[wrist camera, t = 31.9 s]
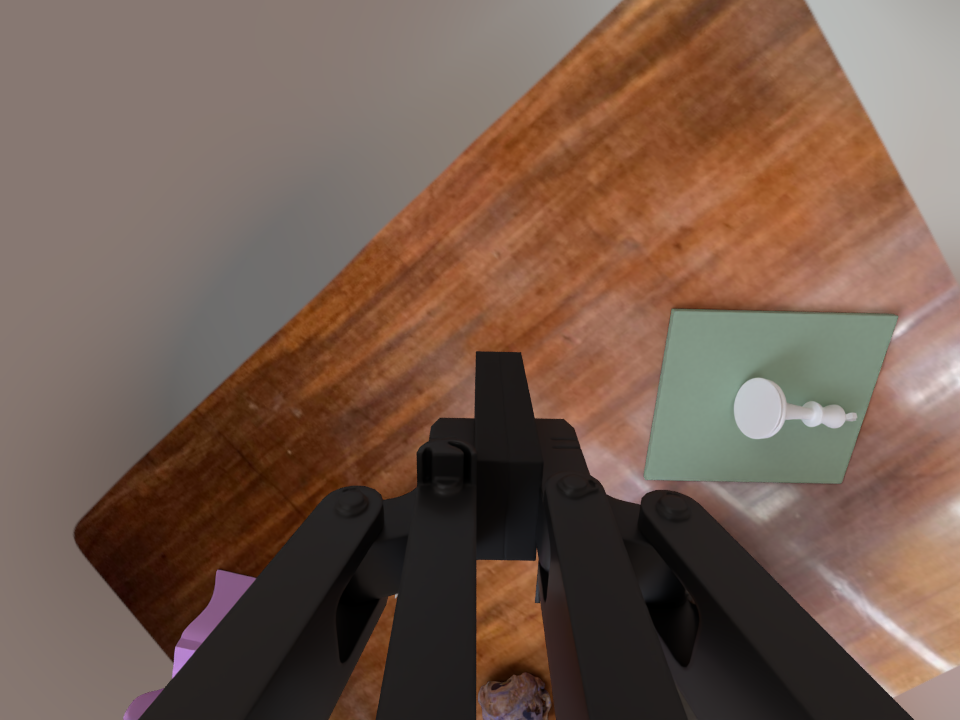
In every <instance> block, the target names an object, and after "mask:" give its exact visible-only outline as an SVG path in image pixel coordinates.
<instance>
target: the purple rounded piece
mask: <svg viewBox="0 0 960 720" xmlns="http://www.w3.org/2000/svg"><path fill="white" fill-rule="evenodd" d="M544 688H545V683H544V682H542V681H541V680H540V678H538V677H534V676H533V675H531V674H530V673H527V672H524V673H522V674H521V675H518V676H516V675H513V676H512V677H511V678H509V679H508V680H507V681H505V682H496V681H492V682H490V681H489V682H488V683H487V684H486V685H483V686H481V689H480V691H479V694H478V702H479V704H480V705H481V706H482V715H483V720H548V712H549V710H550V708H551V700H550V695H549V693H548V692H547V691H546V690H545V689H544ZM541 698H542V699H543V700H544V701H545V702H546V703H545V704H543V703H542V700H541Z"/></svg>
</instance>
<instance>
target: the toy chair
mask: <svg viewBox="0 0 960 720" xmlns="http://www.w3.org/2000/svg"><path fill="white" fill-rule="evenodd" d="M255 580H256V578H254V577H249V576H245V575H240V574H236V573H231V572H227V571H222V570H217V573H216V583H215V589H214V593H213V596H212V599H211V601H210V603H209V604H208V606H207V607H206V609H205V610H204V611H203V612H202V613H201V614H200V615H199V616H198V617H197V618H196V619H195V620H194V621H193V622H192V623H191V624H190V625H189V626H188V627H187V628H186V629H185V631H184V632H183V634H182V636H181V639H180V640H179V642H178V643H177V645H176V647H175V655H174V667H173V674H172V678H173V677H174V676H175V675H176V674H177V673H178V671H179V670H180V669H181V668H182V667H183V665H184V664H185V663H186V662H187V661H188V659H189V658H190V657H191V656H192V655H193V653H194V652H195V651H196V650H197V649H198V648H199V646H200V645H201V644H202V643H203V642H204V640H205V639H206V638H207V637H208V636H209V634H210V633H211V632H212V631H213V630H214V628H215V627H216V626H217V625H218V624H219V622H220V621H221V620H222V619H223V618H224V617H225V615H226V614H227V613H228V612H229V611H230V609H231V608H232V607H233V606H234V605H235V603H236V602H237V601H238V600H239V599H240V597H241V596H242V595H243V594H244V593H245V591H246V590H247V589H248V588H249V587H250V586H251V584H252V583H253V582H254V581H255ZM163 689H164V688H163ZM163 689H160V690H157V691H152V692H148V693H145V694H143V695H140V696H138V697H137V698H136V699H135V700H133V702H132V703H131V704H130V706H129V707H128V709H127V710H126V712H125V715H124V718H123V720H138V719H139V718H140V717H141V715H142V714H143V713H144V712H145V711H146V709H147V708H148V707H149V706H150V705H151V704H152V702H153V701H154V700H155V699H156V698H157V696H158V695H159V694H160V693H161V692H162V690H163Z"/></svg>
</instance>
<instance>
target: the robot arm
mask: <svg viewBox="0 0 960 720" xmlns="http://www.w3.org/2000/svg"><path fill="white" fill-rule="evenodd" d="M536 550H537V551H538V557H539V562H538V574H537V585H536V597H535V603H540V602H541V610H542V617H543V625H544V632H545V640H546V647H547V655H548V662H549V670H550V678H551V685H552V693H553V700H554V708H555V715H556V720H688V718H687V715H686V712H685V710H684V707H683V704H682V701H681V699H680V696H679V693H678V690H677V688H676V685H677V687H678V689H679V690H680V692H681V694H682V695H683V697H684V698H685V700H686V702H687V703H688V705H689V706H690V708H691V710H692V711H693V713H694V715H695V716H696V718H697V719H698V720H914V719H913V718H912V717H911V716H910V715H909V714H908V713H907V712H906V711H905V710H904V709H903V708H902V707H901V706H900V705H899V704H898V703H897V702H896V701H895V700H894V699H893V698H892V697H891V696H890V695H889V694H888V693H887V692H886V691H885V690H884V689H883V688H882V687H881V686H880V685H879V684H878V683H877V682H876V681H875V680H874V679H873V678H872V677H871V676H870V675H869V674H868V673H867V672H866V671H865V670H864V669H863V668H862V667H861V666H860V665H859V664H858V663H857V662H856V661H855V660H854V659H853V658H852V657H851V656H850V655H849V654H848V653H847V652H846V651H845V650H844V649H843V648H842V647H841V646H840V645H839V644H838V643H837V642H836V641H835V640H834V639H833V638H832V637H831V636H830V635H829V634H828V633H827V632H826V631H825V630H824V629H823V628H822V627H821V626H820V625H819V624H818V623H817V622H816V621H815V620H814V619H813V618H812V617H811V616H810V615H809V614H808V613H807V612H806V611H805V610H804V609H803V608H802V607H801V606H800V605H799V604H798V603H797V602H796V601H795V599H794V598H793V597H792V596H791V595H790V594H789V593H788V592H787V591H786V590H785V589H784V588H783V587H782V586H781V585H780V584H779V583H778V582H777V581H776V580H775V579H774V578H773V577H772V576H771V575H770V574H769V573H768V572H767V571H766V570H765V569H764V568H763V567H762V566H761V565H760V564H759V563H758V562H757V561H756V560H755V559H754V558H753V557H752V556H751V555H750V554H749V553H748V552H747V551H746V550H745V549H744V548H743V547H742V546H741V545H740V544H739V543H738V542H737V541H736V540H735V539H734V538H733V537H732V536H731V535H730V534H729V533H728V532H727V531H726V530H725V529H724V528H723V527H722V526H721V525H720V524H719V523H718V522H717V521H716V520H715V519H714V518H713V517H712V516H711V515H710V514H709V513H708V512H707V511H706V510H705V509H704V508H703V507H702V506H701V505H700V504H699V503H697V502H696V501H695V500H693V499H692V498H690V497H688V496H686V495H684V494H681V493H678V492H675V491H669V490H655V491H652V492H649V493H647V494H646V495H645V496H643V497H642V500H641V505H639V504H635V503H631V502H626V501H622V500H619V499H615V498H613V497H611V496H609V495H606V493H605V490H604V487H603V486H602V485H601V483H600V482H599V481H598V480H597V479H595V478H594V477H592V476H591V475H590V473H589V470H588V468H587V465H586V462H585V459H584V456H583V453H582V450H581V449H580V444H579V441H578V438H577V435H576V432H575V429H574V428H573V427H572V426H571V425H570V424H569V423H568V422H566V421H565V420H564V419H537V418H535V417H534V413H533V408H532V403H531V398H530V393H529V389H528V384H527V379H526V374H525V369H524V365H523V360H522V355H521V352H481V351H476V374H475V416H474V418H439V419H438V420H437V421H436V422H435V423H434V424H433V425H432V426H431V431H430V437H429V442H426V443H425V444H423V445H422V446H421V447H420V448H419V450H418V451H417V488H415V489H414V490H413V491H411V492H410V493H407V494H405V495H403V496H400V497H396V498H392V499H387V500H383V499H382V496H381V494H380V493H378V492H377V491H376V490H375V489H372V488H369V487H366V486H349V487H344V488H340V489H338V490H336V491H333V492H331V493H330V494H329V495H327V496H326V497H325V498H324V499H323V500H322V501H321V502H320V503H319V504H318V506H317V507H316V508H315V509H314V510H313V512H312V513H311V514H310V515H309V516H308V518H307V519H306V520H305V521H304V522H303V524H302V525H301V526H300V527H299V528H298V529H297V531H296V532H295V533H294V534H293V535H292V537H291V538H290V539H289V540H288V541H287V543H286V544H285V545H284V546H283V547H282V549H281V550H280V551H279V552H278V553H277V555H276V556H275V557H274V558H273V559H272V560H271V562H270V563H269V564H268V565H267V566H266V568H265V569H264V570H263V571H262V572H261V574H260V575H259V576H258V577H257V578H256V580H255V581H254V582H253V583H252V584H251V586H250V587H249V588H248V589H247V590H246V591H245V593H244V594H243V595H242V596H241V597H240V599H239V600H238V601H237V602H236V603H235V605H234V606H233V607H232V608H231V609H230V611H229V612H228V613H227V614H226V615H225V617H224V618H223V619H222V620H221V621H220V622H219V624H218V625H217V626H216V627H215V628H214V630H213V631H212V632H211V633H210V634H209V636H208V637H207V638H206V639H205V640H204V642H203V643H202V644H201V645H200V646H199V648H198V649H197V650H196V651H195V652H194V653H193V655H192V656H191V657H190V658H189V659H188V661H187V662H186V663H185V664H184V665H183V667H182V668H181V669H180V670H179V671H178V673H177V674H176V675H175V676H174V677H173V678H172V680H171V681H170V682H169V683H168V684H167V686H166V687H165V688H164V689H163V690H162V692H161V693H160V694H159V695H158V696H157V698H156V699H155V700H154V701H153V702H152V704H151V705H150V706H149V707H148V708H147V709H146V711H145V712H144V713H143V714H142V715H141V717H140V718H139V719H138V720H328V719H329V717H330V715H331V713H332V711H333V709H334V707H335V705H336V703H337V701H338V699H339V697H340V695H341V693H342V691H343V689H344V687H345V685H346V683H347V681H348V680H349V678H350V676H351V674H352V672H353V670H354V668H355V666H356V664H357V662H358V660H359V658H360V656H361V654H362V652H363V650H364V648H365V646H366V644H367V642H368V640H369V638H370V636H371V634H372V632H373V630H374V628H375V626H376V624H377V622H378V620H379V618H380V616H381V614H382V612H383V610H384V608H385V606H386V603H387V599H388V596H391V595H395V594H398V597H397V603H396V608H395V614H394V620H393V625H392V631H391V637H390V642H389V648H388V654H387V659H386V665H385V671H384V676H383V682H382V687H381V693H380V699H379V704H378V710H377V716H376V720H476V560H528V561H536ZM675 684H676V685H675Z"/></svg>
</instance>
